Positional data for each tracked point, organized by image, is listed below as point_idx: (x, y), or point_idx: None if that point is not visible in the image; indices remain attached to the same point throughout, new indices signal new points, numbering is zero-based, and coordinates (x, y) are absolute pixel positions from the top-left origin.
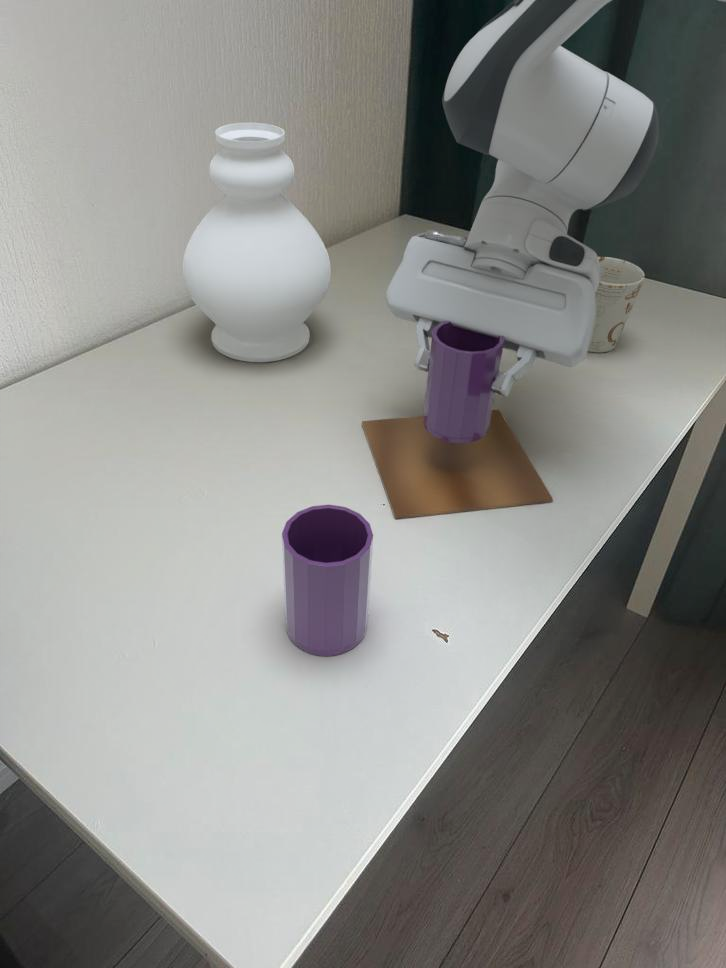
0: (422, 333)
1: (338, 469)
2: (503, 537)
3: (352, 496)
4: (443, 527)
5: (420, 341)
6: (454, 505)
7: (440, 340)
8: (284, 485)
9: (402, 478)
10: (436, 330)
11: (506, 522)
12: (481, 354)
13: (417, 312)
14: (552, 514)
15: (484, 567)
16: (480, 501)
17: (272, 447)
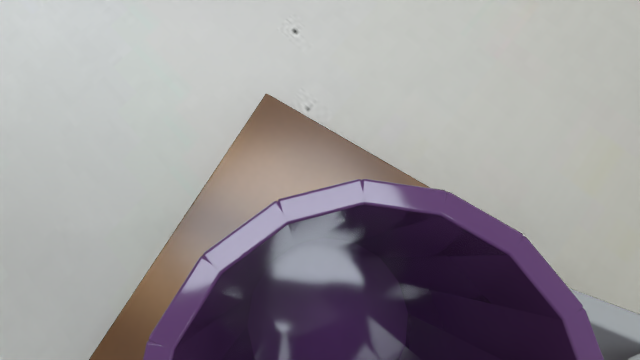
0: (629, 334)
1: (433, 114)
2: (99, 206)
3: (359, 83)
4: (194, 144)
5: (589, 305)
6: (213, 194)
7: (521, 353)
8: (451, 21)
9: (334, 175)
10: (550, 296)
11: (119, 243)
12: (169, 309)
13: None
14: (65, 336)
15: (80, 123)
16: (185, 242)
17: (552, 68)
